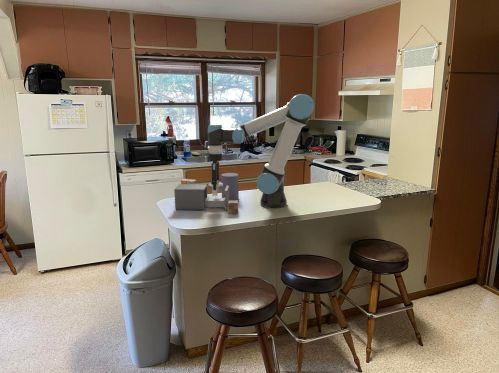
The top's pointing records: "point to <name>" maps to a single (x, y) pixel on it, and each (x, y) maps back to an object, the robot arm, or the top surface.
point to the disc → (219, 185)
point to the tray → (218, 200)
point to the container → (230, 185)
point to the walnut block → (233, 207)
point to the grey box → (190, 197)
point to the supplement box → (188, 181)
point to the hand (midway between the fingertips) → (215, 193)
